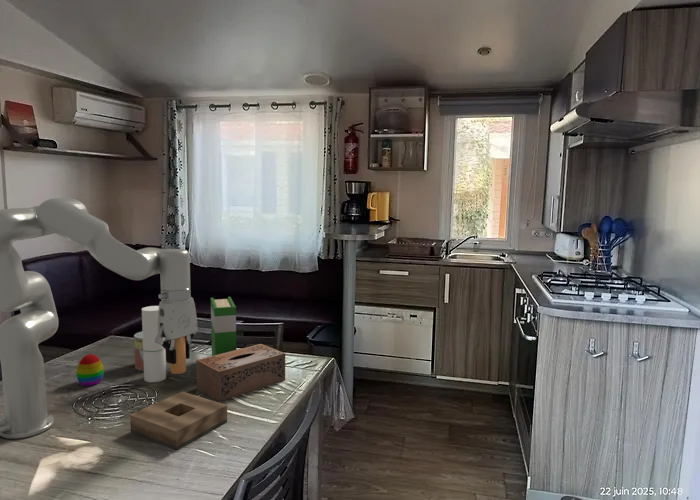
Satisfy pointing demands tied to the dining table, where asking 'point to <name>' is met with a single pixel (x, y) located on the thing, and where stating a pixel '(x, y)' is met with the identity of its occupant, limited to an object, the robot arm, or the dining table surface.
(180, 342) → the pin
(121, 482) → the dining table surface
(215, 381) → the tissue box cover
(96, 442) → the dining table surface
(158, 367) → the cylindrical container
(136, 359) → the canned food
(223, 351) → the hardback book
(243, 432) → the dining table surface
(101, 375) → the decorative egg
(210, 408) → the block
